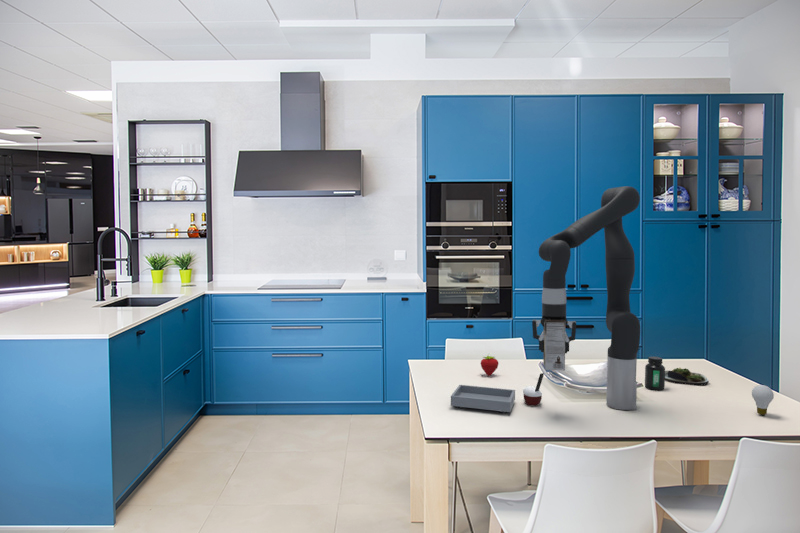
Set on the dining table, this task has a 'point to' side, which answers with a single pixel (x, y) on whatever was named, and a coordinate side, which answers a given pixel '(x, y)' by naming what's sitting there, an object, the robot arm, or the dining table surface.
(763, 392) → the light bulb
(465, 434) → the dining table surface
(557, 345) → the coffee box
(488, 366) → the strawberry
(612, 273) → the robot arm
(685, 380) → the salad plate
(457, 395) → the tray
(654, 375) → the supplement bottle
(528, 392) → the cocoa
